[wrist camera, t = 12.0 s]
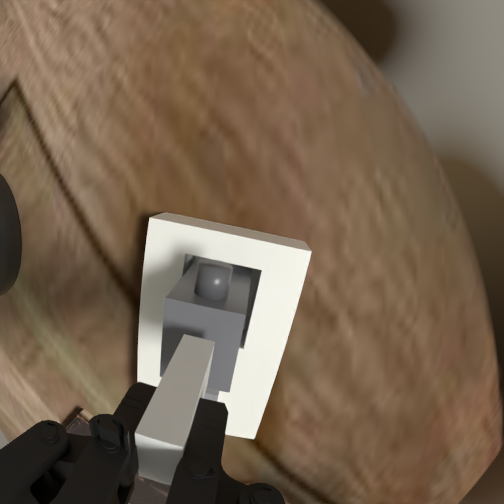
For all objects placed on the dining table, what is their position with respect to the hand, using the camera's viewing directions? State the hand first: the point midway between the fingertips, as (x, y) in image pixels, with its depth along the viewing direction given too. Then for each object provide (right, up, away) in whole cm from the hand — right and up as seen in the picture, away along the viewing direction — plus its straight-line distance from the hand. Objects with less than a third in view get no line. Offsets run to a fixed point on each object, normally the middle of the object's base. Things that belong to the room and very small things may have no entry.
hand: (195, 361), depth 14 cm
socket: (-1, -1, +11) cm, 11 cm away
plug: (0, +2, +10) cm, 10 cm away
